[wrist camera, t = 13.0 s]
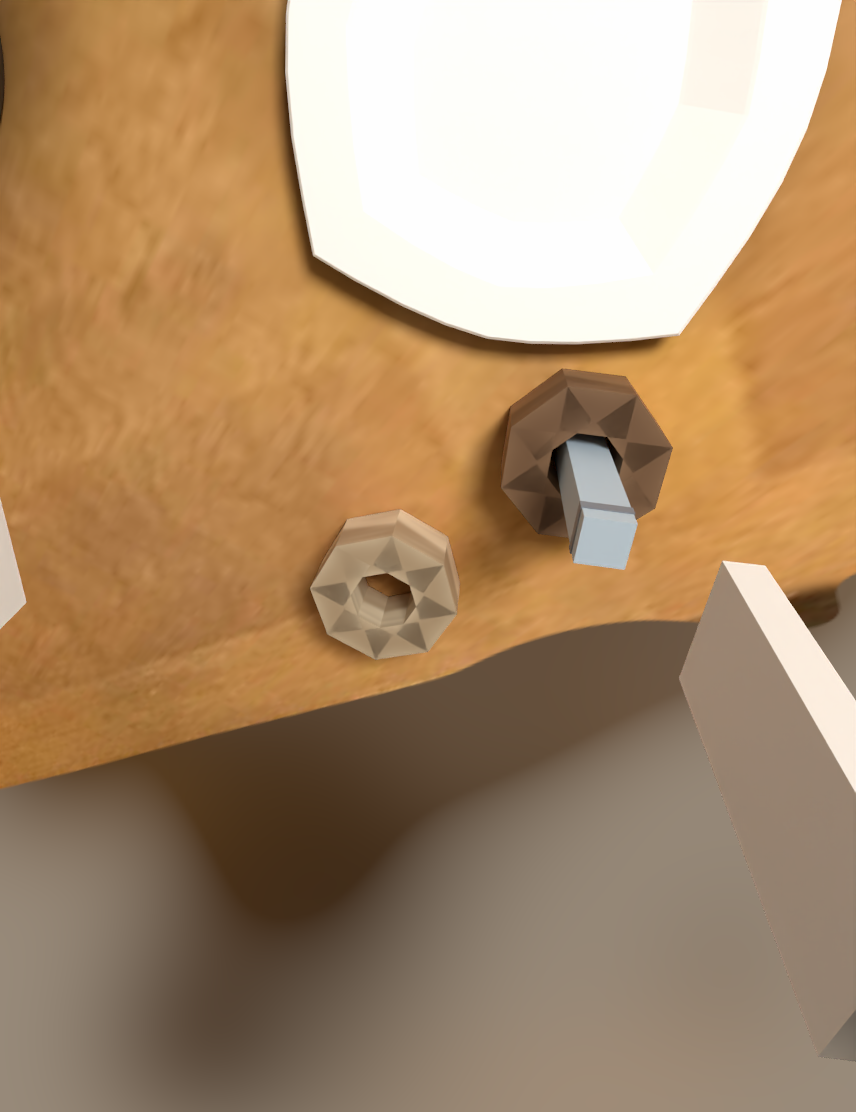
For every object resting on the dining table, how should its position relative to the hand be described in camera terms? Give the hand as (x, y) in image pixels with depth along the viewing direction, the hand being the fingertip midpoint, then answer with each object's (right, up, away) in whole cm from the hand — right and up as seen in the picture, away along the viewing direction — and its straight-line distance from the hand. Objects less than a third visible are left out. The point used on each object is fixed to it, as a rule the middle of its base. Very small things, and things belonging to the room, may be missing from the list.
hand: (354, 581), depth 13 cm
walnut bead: (+10, +7, +27) cm, 29 cm away
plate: (+7, +22, +19) cm, 30 cm away
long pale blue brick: (+10, +7, +27) cm, 29 cm away
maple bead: (-1, 0, +32) cm, 32 cm away
